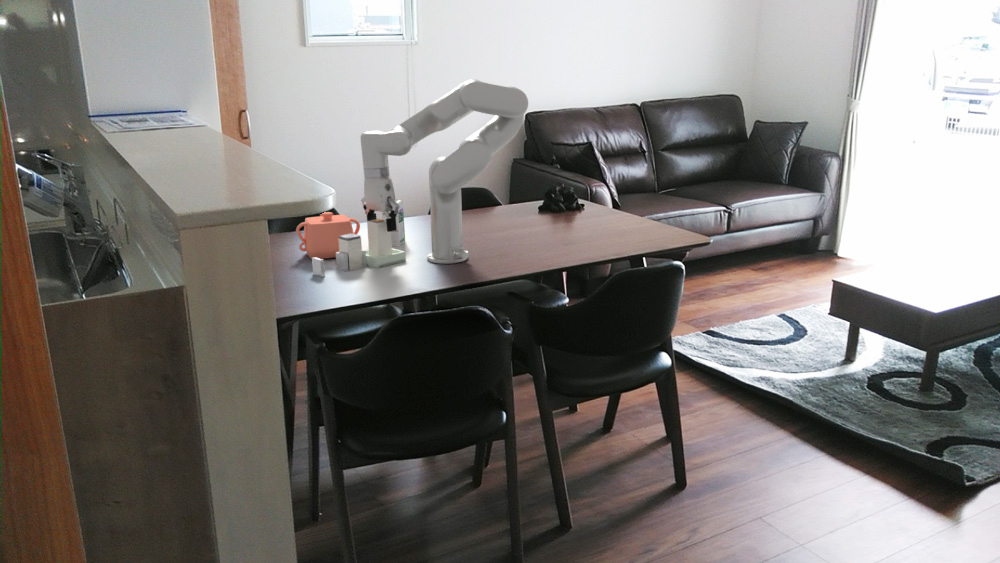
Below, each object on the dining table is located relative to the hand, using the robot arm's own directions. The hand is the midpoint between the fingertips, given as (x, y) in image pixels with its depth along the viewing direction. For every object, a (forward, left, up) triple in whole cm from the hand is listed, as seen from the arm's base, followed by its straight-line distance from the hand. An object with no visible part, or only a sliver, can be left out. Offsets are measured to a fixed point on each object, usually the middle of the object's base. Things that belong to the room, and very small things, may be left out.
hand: (382, 228), depth 243 cm
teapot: (+22, +6, -11) cm, 25 cm away
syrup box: (+16, -16, -11) cm, 25 cm away
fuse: (+1, +1, -10) cm, 10 cm away
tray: (+1, +1, -10) cm, 10 cm away
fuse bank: (+2, +15, -10) cm, 18 cm away
